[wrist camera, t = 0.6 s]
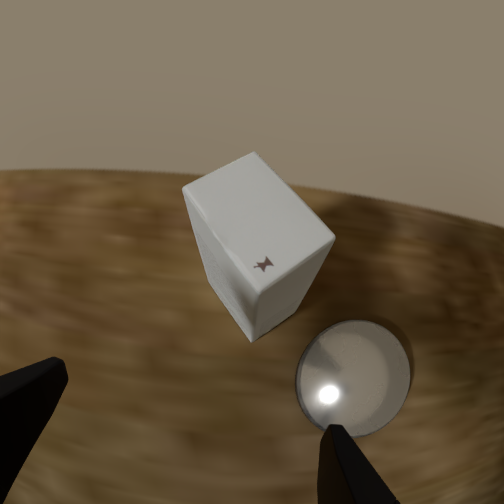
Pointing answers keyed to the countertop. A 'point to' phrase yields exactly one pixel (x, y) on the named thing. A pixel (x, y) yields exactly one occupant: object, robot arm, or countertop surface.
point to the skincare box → (256, 241)
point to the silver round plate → (353, 377)
